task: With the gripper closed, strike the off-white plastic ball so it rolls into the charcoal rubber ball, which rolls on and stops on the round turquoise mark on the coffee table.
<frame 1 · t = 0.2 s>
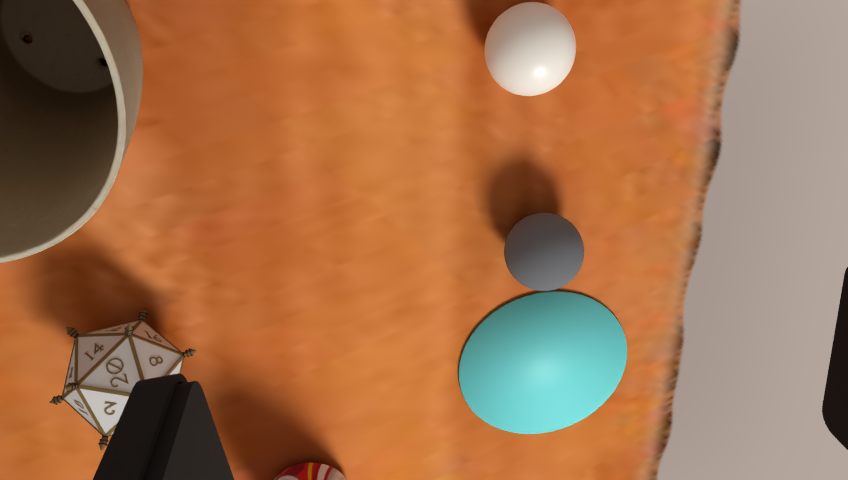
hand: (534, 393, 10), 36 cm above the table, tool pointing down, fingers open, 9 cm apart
object ball: (543, 251, 47), on the table
game die: (140, 341, 50), on the table
plant pot: (69, 31, 40), on the table
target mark: (543, 365, 55), on the table
cue ball: (529, 49, 41), on the table
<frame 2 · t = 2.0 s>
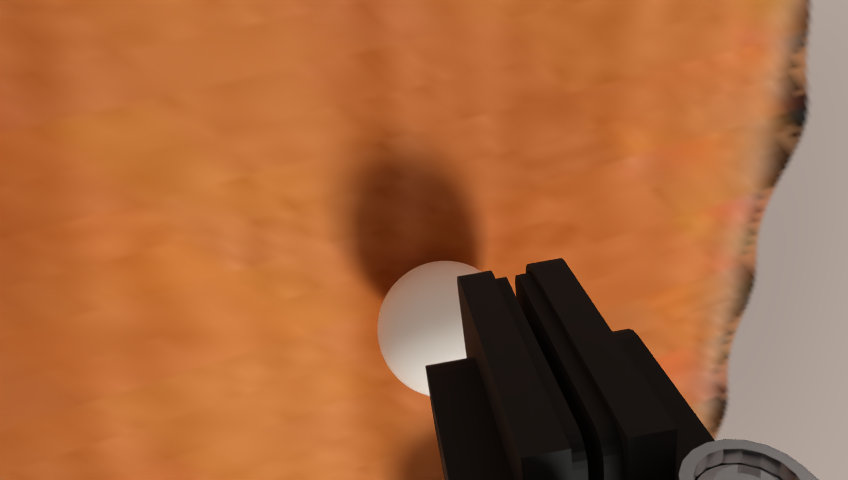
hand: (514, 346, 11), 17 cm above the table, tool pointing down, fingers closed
cue ball: (445, 328, 27), on the table
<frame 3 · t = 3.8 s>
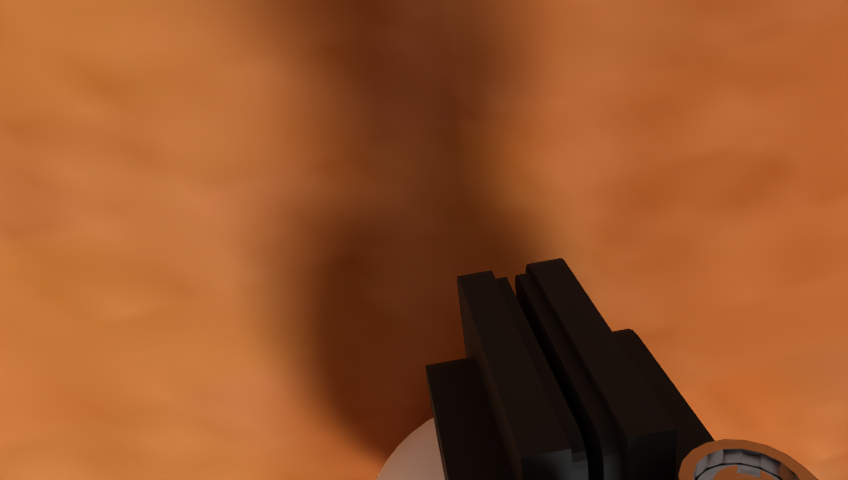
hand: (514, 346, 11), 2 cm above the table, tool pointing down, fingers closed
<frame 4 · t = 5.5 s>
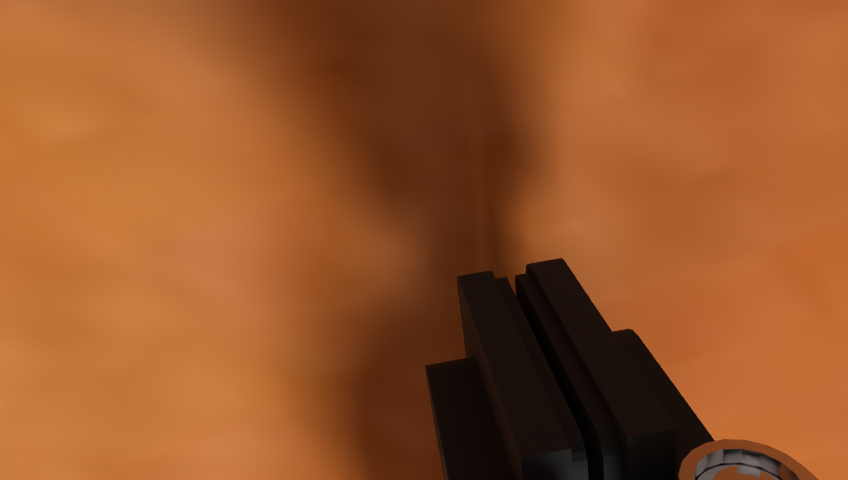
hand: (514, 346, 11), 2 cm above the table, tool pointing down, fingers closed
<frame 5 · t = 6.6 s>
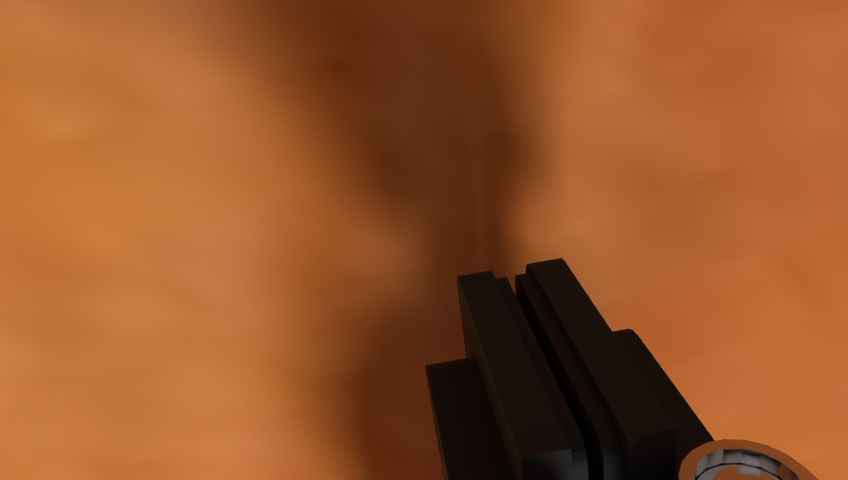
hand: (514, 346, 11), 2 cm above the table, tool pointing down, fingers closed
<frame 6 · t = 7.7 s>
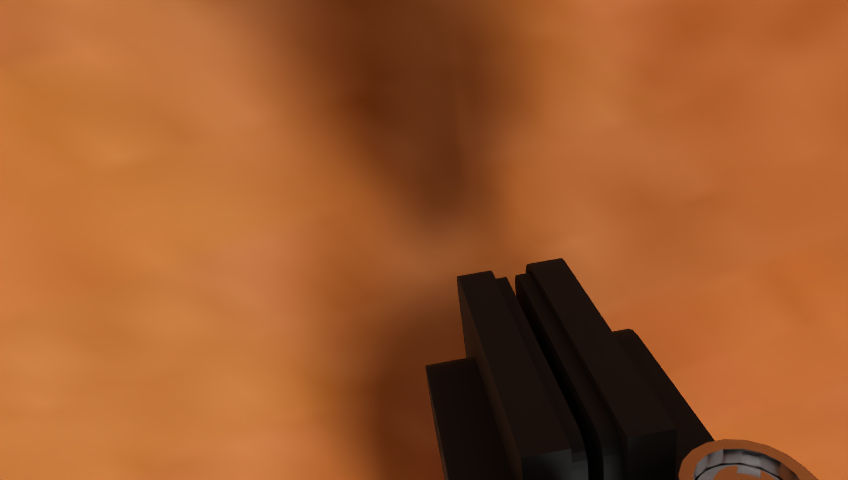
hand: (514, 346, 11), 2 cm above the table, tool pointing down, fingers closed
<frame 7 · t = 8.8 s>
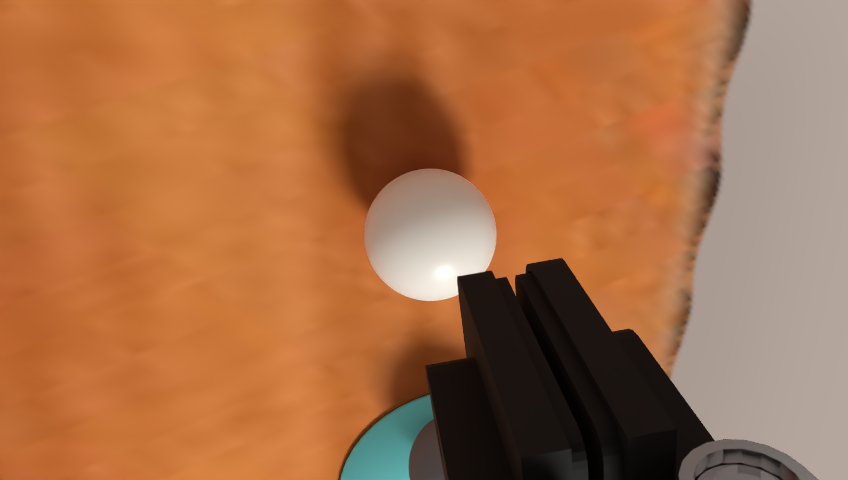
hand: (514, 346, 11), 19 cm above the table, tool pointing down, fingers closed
object ball: (463, 466, 34), on the table
cue ball: (430, 234, 28), on the table
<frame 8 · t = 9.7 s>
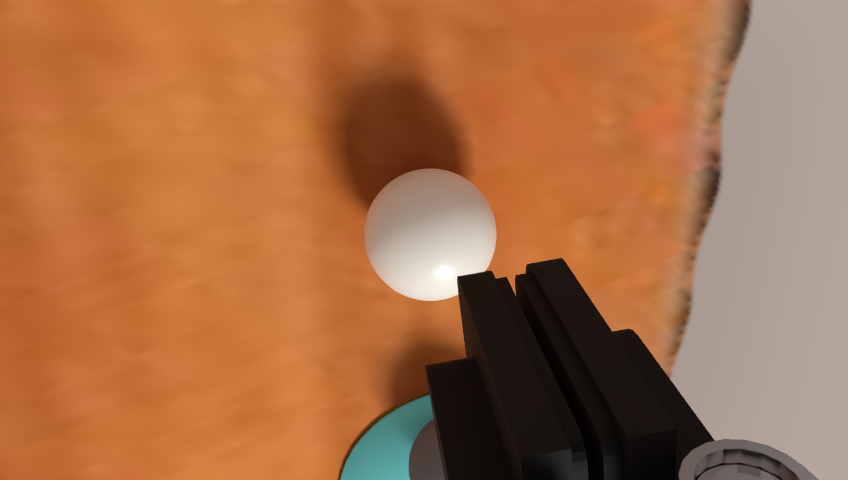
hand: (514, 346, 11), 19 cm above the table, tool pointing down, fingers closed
object ball: (463, 466, 34), on the table
cue ball: (430, 234, 28), on the table
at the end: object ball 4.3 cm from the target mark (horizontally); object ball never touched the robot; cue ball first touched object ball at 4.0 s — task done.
